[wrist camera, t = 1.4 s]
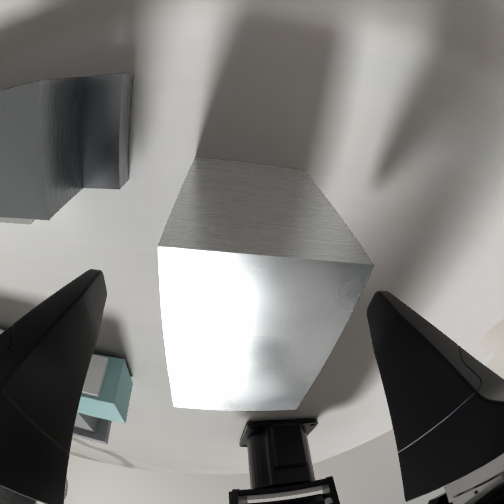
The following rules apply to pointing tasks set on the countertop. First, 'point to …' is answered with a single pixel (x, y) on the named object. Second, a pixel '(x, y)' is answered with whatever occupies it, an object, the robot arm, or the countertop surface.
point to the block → (253, 285)
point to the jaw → (102, 398)
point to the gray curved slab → (61, 142)
